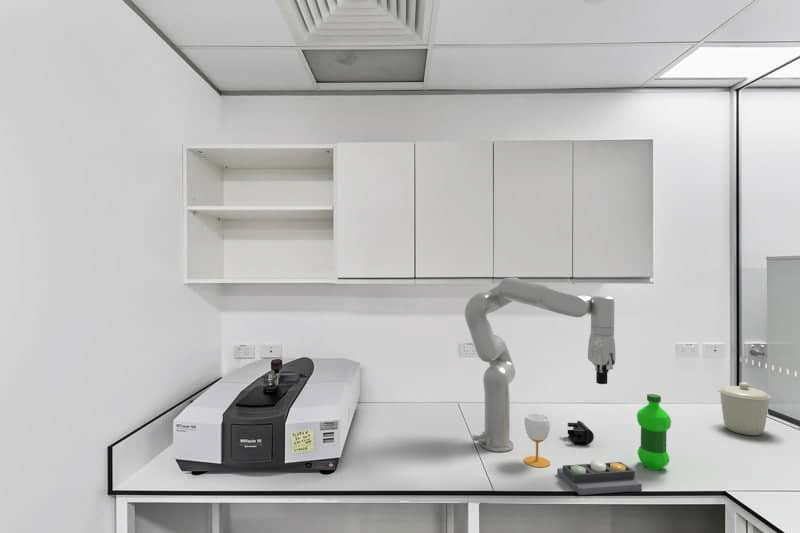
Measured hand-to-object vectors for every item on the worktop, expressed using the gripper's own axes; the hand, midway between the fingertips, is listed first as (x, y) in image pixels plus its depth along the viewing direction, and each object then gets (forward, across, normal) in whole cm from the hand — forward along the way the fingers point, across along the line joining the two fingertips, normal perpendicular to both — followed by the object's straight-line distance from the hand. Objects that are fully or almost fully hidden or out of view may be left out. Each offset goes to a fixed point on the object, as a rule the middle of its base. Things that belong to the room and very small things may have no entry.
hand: (601, 383), depth 161 cm
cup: (+29, -6, -21) cm, 37 cm away
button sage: (+27, +11, -15) cm, 33 cm away
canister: (+29, -23, +81) cm, 89 cm away
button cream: (+26, +11, -8) cm, 29 cm away
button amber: (+27, +11, -1) cm, 29 cm away
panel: (+29, +11, -8) cm, 32 cm away
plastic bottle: (+29, +3, +18) cm, 35 cm away
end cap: (+29, -22, +5) cm, 37 cm away
